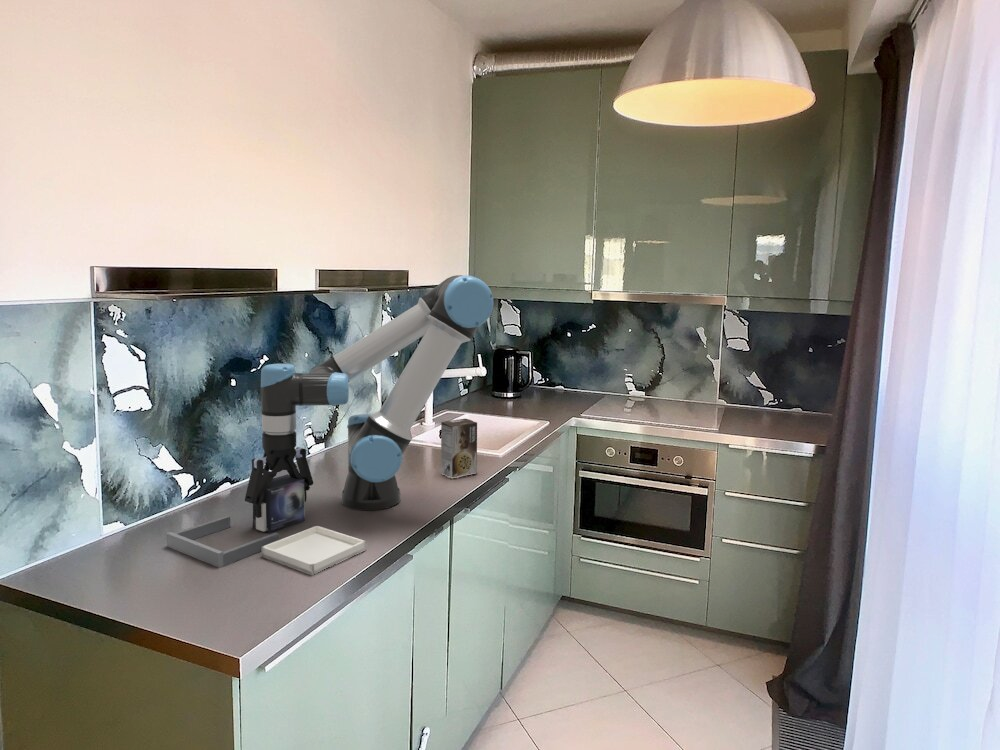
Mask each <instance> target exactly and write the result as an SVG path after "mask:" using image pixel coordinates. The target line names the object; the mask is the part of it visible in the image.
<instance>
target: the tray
mask: <svg viewBox="0 0 1000 750" xmlns="http://www.w3.org/2000/svg"><path fill="white" fill-rule="evenodd" d="M363 550H366V551H367V540H363V539H361V538H357V537H354V536H351V535H348V534H344V533H341V532H338V531H336V530H332V529H329V528H326V527H323V526H319V525H314V526H312V527H310V528H307V529H305V530H302V531H299V532H297V533H294V534H291V535H289V536H286V537H283V538H281V539H279V540H278V541H275V542H273V543H270V544H268V545H265V546H262V547H261V552H260V553H261V558H264V559H267V560H268V561H271V562H274V563H277V564H280V565H283V566H285V567H288V568H291V569H293V570H296V571H299V572H301V573H304V574H306V575H309V576H315V575H316V574H319V573H321V572H323V571H325V570H327V569H326V568H328V567H330V566H332V565H334V564H336V563H338V562H340V561H342V560H344V559H346V558H349V557H351V556H353V555H355V554H357V553H360V552H361V551H363ZM360 554H361V553H360ZM336 565H337V564H336ZM334 566H335V565H334ZM332 567H333V566H332ZM330 568H331V567H330ZM324 569H325V570H324ZM328 569H329V568H328ZM322 570H323V571H322ZM320 571H321V572H320ZM318 572H319V573H318ZM314 574H315V575H314Z"/></svg>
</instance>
